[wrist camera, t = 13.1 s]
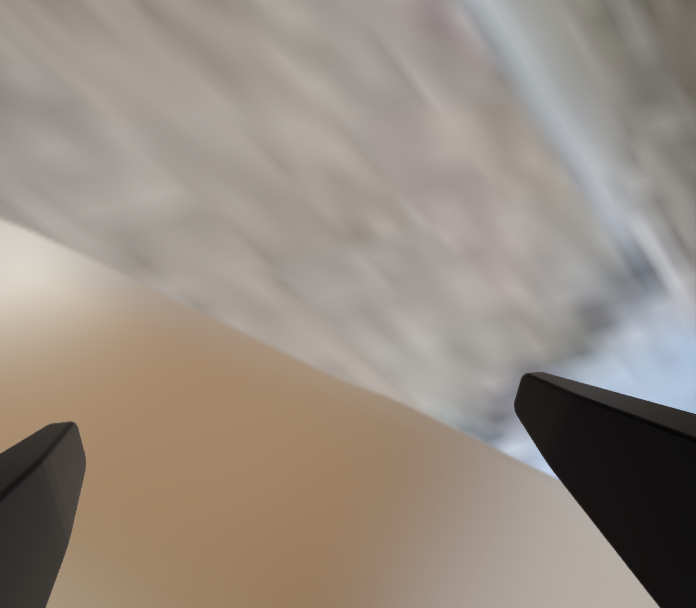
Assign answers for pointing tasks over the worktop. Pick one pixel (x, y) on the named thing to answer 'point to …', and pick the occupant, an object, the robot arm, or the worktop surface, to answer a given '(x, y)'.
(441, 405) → the worktop surface
